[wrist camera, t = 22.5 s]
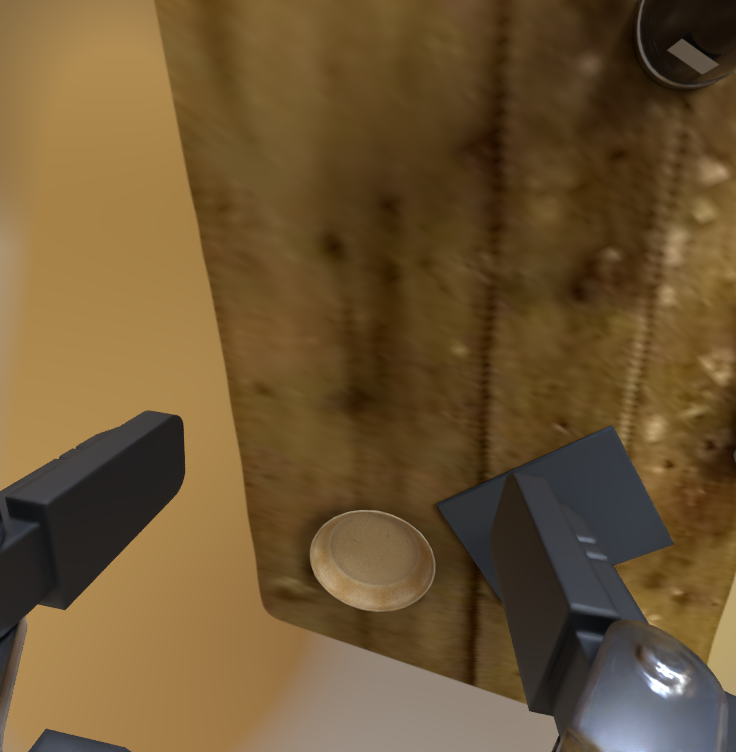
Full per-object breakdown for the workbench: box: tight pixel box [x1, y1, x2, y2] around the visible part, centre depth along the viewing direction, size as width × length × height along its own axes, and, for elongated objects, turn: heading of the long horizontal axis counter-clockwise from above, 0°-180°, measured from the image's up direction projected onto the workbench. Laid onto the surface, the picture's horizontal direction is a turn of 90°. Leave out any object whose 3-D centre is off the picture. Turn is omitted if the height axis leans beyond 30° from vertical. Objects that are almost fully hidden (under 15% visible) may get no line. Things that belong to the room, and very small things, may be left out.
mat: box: [437, 426, 674, 603], centre depth 43 cm, size 20×16×1 cm
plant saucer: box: [310, 510, 435, 612], centre depth 46 cm, size 15×15×3 cm
